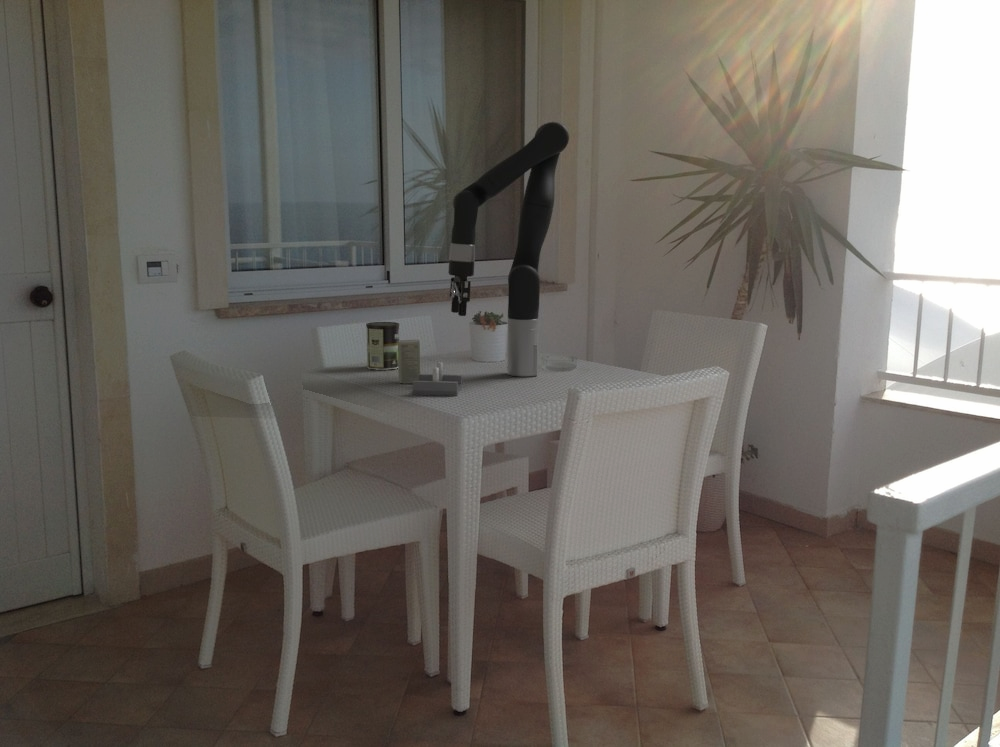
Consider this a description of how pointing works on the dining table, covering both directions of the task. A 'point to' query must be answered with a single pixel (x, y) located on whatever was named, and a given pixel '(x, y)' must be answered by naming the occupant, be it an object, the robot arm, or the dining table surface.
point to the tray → (437, 383)
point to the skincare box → (408, 360)
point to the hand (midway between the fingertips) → (458, 314)
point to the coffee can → (382, 345)
